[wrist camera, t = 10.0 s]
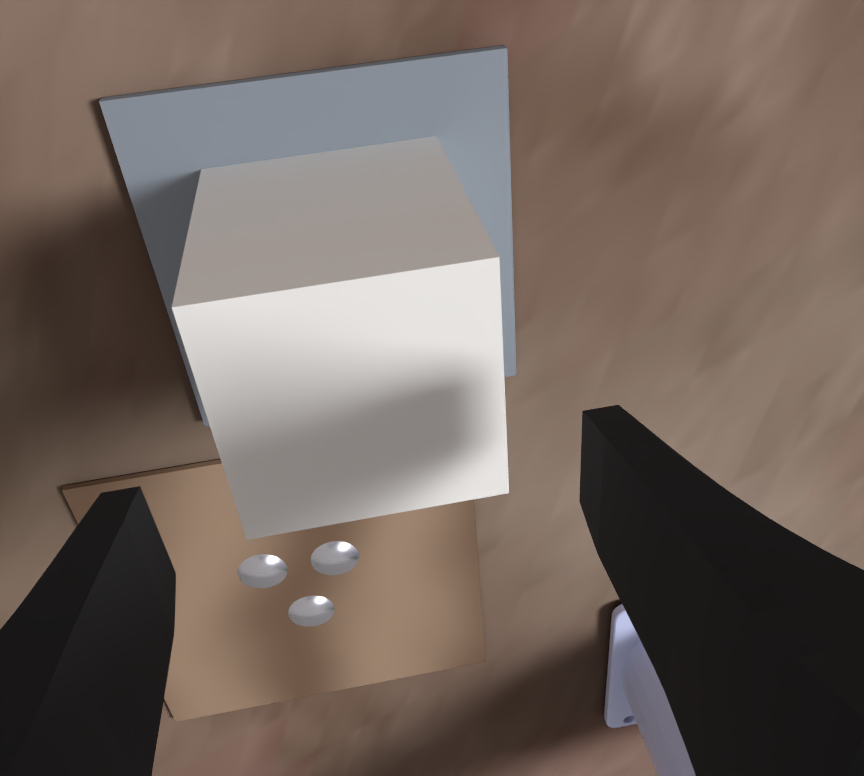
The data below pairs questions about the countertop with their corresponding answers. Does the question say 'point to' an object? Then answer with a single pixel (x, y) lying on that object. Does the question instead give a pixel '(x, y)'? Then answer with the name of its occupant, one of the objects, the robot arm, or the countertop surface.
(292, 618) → the board
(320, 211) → the matte white cube
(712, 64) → the countertop surface
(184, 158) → the mat
